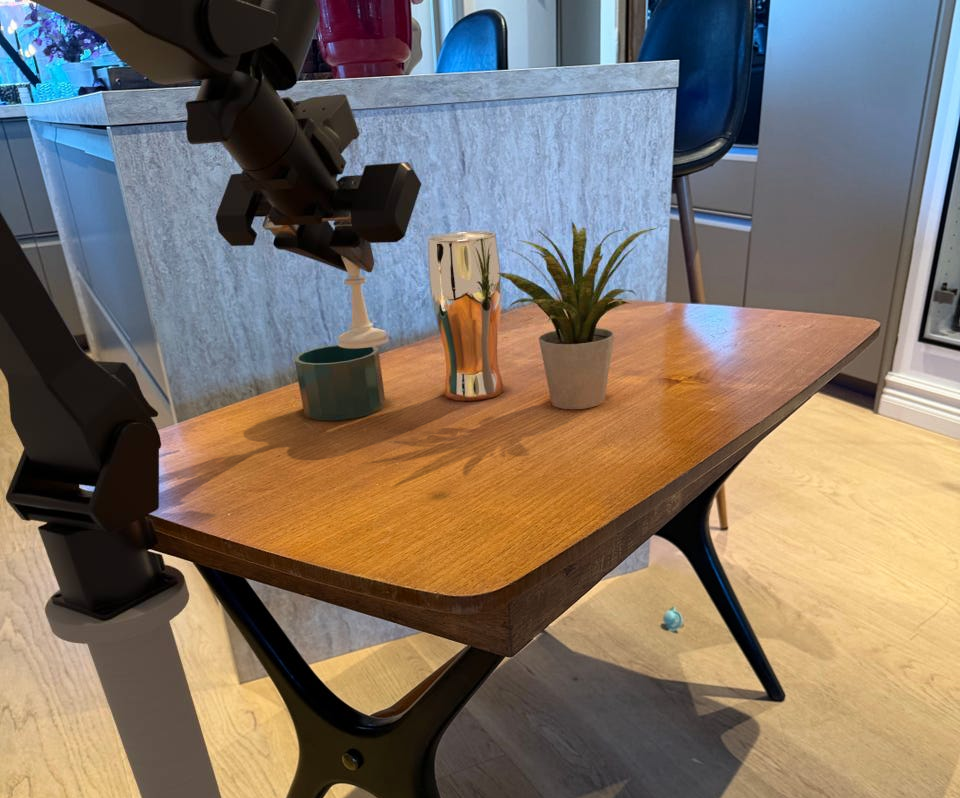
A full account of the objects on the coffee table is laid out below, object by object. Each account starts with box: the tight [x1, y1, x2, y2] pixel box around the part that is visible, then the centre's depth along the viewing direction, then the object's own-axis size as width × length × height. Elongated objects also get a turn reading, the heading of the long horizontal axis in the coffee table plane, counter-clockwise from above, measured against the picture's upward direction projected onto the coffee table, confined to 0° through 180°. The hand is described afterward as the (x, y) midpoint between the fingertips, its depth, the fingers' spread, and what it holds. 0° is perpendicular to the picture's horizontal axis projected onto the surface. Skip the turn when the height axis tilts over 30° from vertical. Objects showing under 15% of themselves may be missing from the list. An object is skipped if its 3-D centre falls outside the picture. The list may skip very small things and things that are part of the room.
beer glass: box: [427, 230, 504, 402], centre depth 89 cm, size 7×7×15 cm
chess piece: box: [337, 255, 390, 349], centre depth 84 cm, size 5×5×10 cm
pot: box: [293, 344, 386, 422], centre depth 90 cm, size 8×8×6 cm
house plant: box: [498, 221, 658, 410], centre depth 84 cm, size 14×14×16 cm
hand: (361, 268), depth 84 cm, fingers closed on chess piece
